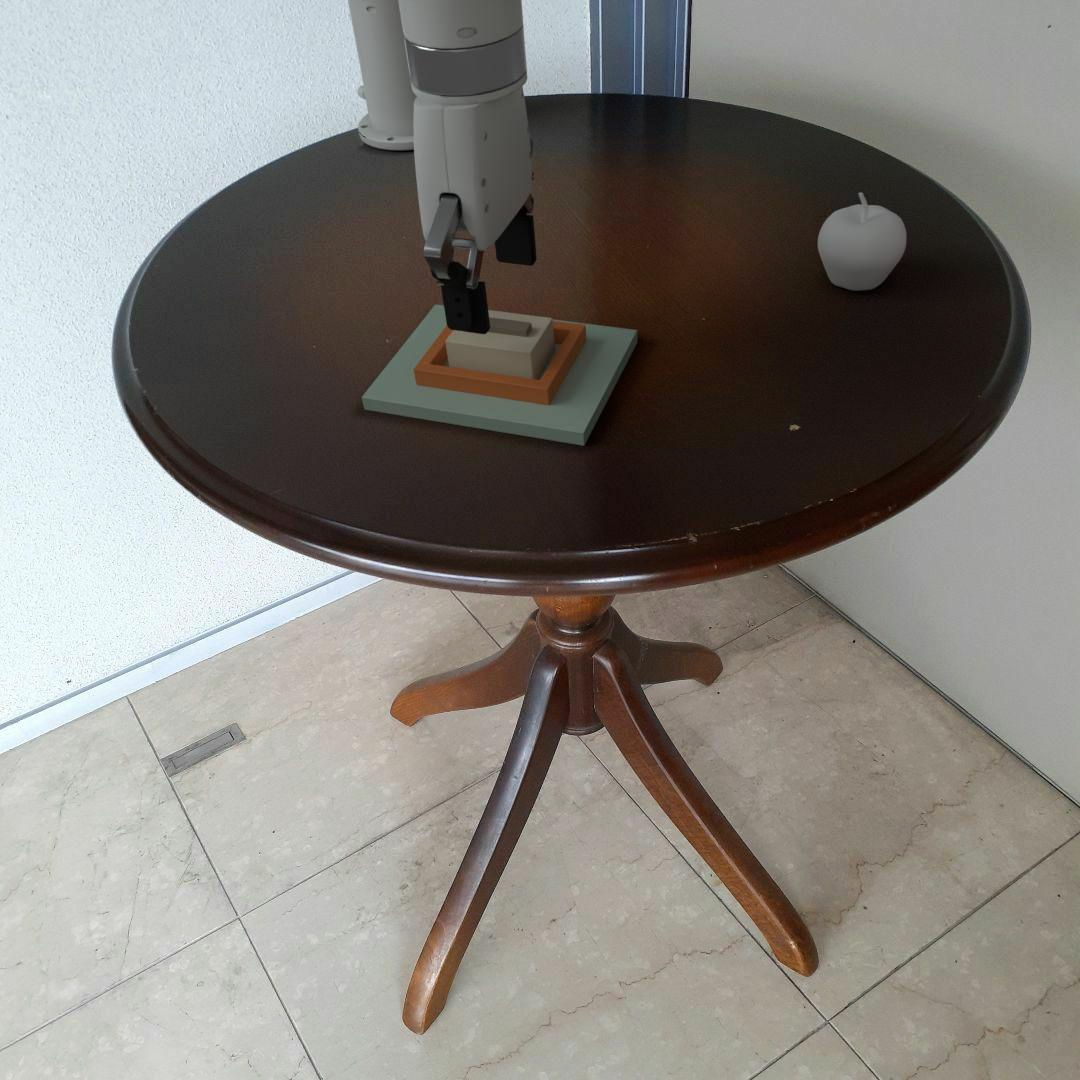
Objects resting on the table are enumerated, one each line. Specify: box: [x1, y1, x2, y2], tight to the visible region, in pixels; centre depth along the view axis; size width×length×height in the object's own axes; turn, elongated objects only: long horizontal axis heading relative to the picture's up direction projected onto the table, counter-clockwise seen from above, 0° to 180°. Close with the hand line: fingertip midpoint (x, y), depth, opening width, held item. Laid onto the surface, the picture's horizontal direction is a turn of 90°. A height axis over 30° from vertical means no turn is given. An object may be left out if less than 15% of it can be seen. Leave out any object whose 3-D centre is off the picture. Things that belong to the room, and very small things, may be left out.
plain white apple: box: [816, 192, 907, 292], centre depth 85 cm, size 7×7×8 cm
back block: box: [445, 309, 555, 380], centre depth 80 cm, size 7×5×4 cm
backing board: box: [361, 304, 638, 447], centre depth 81 cm, size 18×14×3 cm
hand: (493, 294), depth 77 cm, fingers open, 9 cm apart
